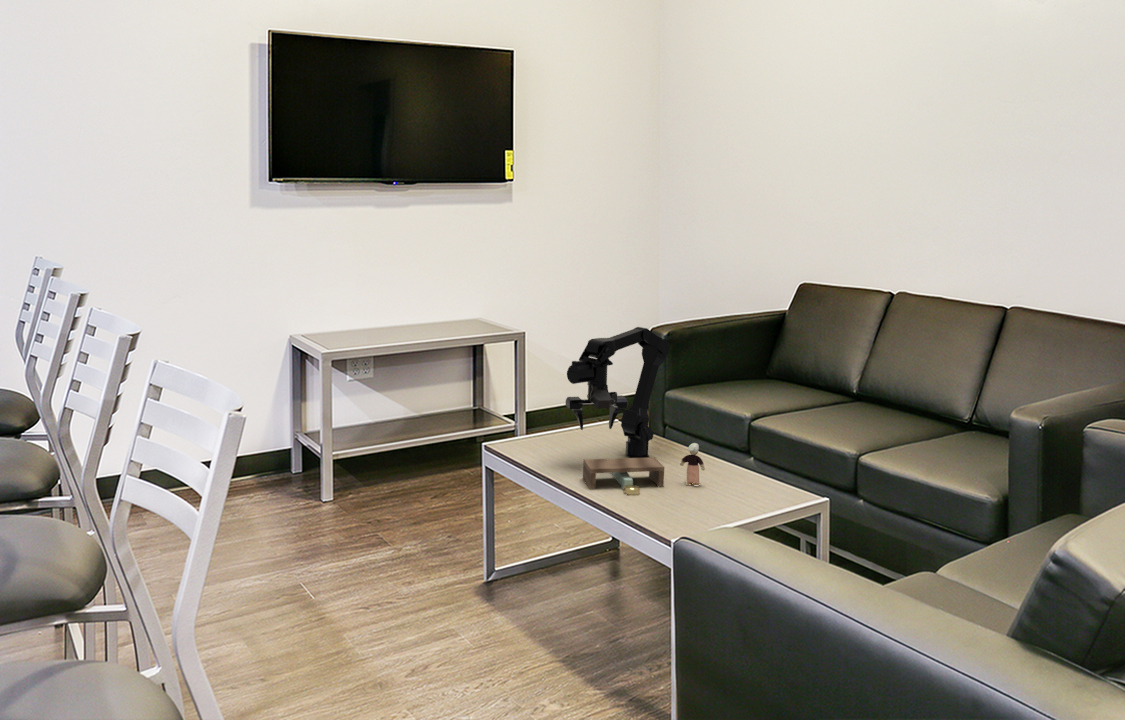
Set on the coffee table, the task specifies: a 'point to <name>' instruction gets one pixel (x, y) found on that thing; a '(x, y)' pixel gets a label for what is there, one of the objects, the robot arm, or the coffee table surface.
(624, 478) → the green blade
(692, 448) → the grandmother figurine
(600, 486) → the coffee table surface
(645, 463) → the walnut shelf
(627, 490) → the brass disc
